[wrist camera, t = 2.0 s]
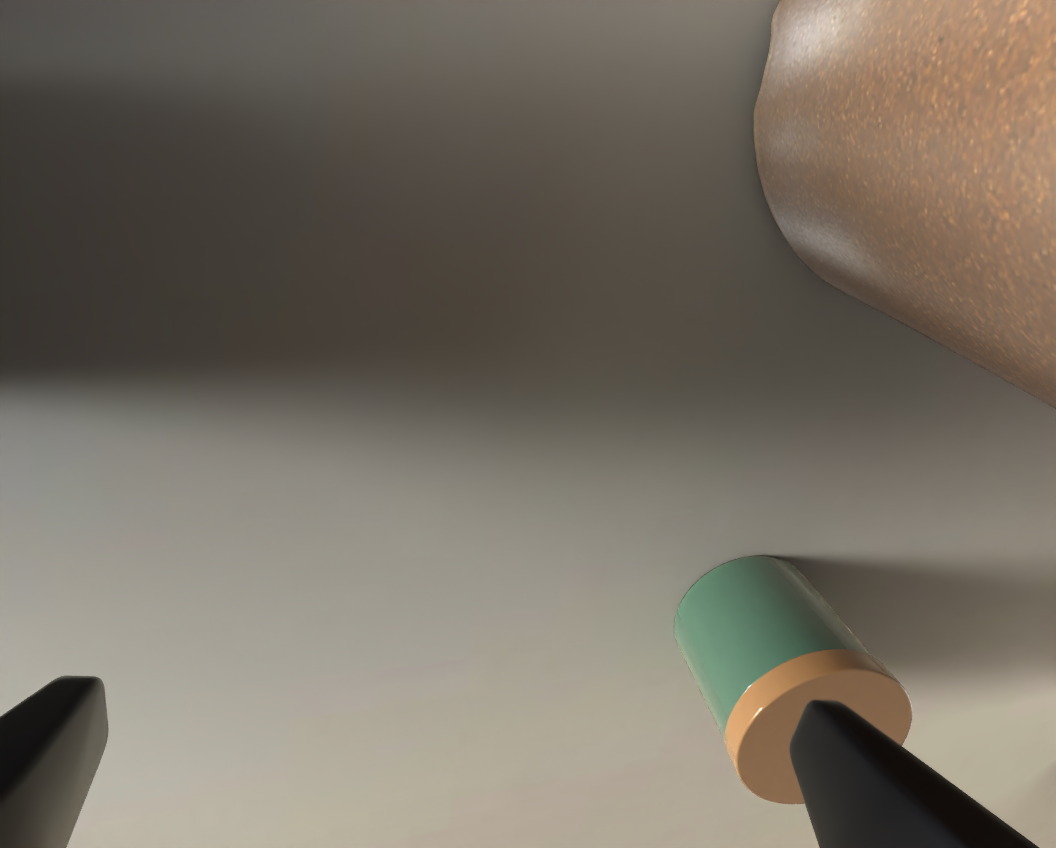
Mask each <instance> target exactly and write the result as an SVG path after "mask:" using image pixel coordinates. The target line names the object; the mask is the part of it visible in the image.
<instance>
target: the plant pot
mask: <svg viewBox="0 0 1056 848" xmlns="http://www.w3.org/2000/svg"><path fill="white" fill-rule="evenodd" d="M754 146H755V155H756V162H757V167H758V172H759V176H760V180H761V184H762V188H763V191H764V194H765V197H766V200H767V203H768V206H769V208H770V210H771V213H772V215H773V217H774V219H775V221H776V223H777V225H778V227H779V228H780V230H781V232H782V234H783V235H784V237H785V238H786V240H787V241H788V243H789V245H790V246H791V248H792V249H793V250H794V251H795V253H796V254H797V255H798V256H799V258H800V259H801V260H802V261H803V262H804V263H805V264H806V265H807V266H808V267H809V268H810V269H811V270H812V271H813V272H814V273H816V274H817V275H818V276H819V277H821V278H822V279H823V280H824V281H826V282H827V283H828V284H830V285H831V286H833V287H835V288H837V289H838V290H840V291H842V292H843V293H846V294H848V295H850V296H852V297H854V298H856V299H858V300H860V301H862V302H864V303H866V304H867V305H869V306H871V307H873V308H875V309H877V310H879V311H881V312H883V313H884V314H886V315H888V316H890V317H892V318H894V319H896V320H898V321H899V322H901V323H903V324H905V325H907V326H909V327H911V328H912V329H914V330H916V331H918V332H920V333H921V334H923V335H925V336H927V337H929V338H930V339H932V340H934V341H936V342H937V343H939V344H941V345H943V346H945V347H946V348H948V349H950V350H952V351H954V352H955V353H957V354H959V355H961V356H963V357H964V358H966V359H968V360H970V361H972V362H973V363H975V364H977V365H979V366H981V367H982V368H984V369H986V370H988V371H990V372H991V373H993V374H995V375H997V376H998V377H1000V378H1002V379H1004V380H1006V381H1007V382H1009V383H1011V384H1013V385H1015V386H1016V387H1018V388H1020V389H1022V390H1024V391H1025V392H1027V393H1029V394H1031V395H1032V396H1034V397H1036V398H1038V399H1040V400H1041V401H1043V402H1045V403H1047V404H1048V405H1050V406H1052V407H1054V408H1056V0H780V1H779V4H778V6H777V8H776V10H775V12H774V14H773V18H772V22H771V39H770V48H769V53H768V58H767V62H766V65H765V70H764V74H763V78H762V83H761V87H760V91H759V95H758V98H757V101H756V104H755V107H754Z"/></svg>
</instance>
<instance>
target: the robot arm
mask: <svg viewBox="0 0 1056 848" xmlns="http://www.w3.org/2000/svg"><path fill="white" fill-rule="evenodd" d="M107 738H108V719H107V709H106V699H105V689H104V684H103V682H102V680H101V679H100V678H98V677H95V676H62V677H59V678H57V679H55V680H53V681H51V682H50V683H49V684H47V685H46V686H44V687H43V688H41V689H40V690H38V691H37V692H35V693H34V694H33V695H31V696H30V697H28V698H27V699H25V700H24V701H22V702H21V703H19V704H18V705H17V706H15V707H14V708H12V709H11V710H9V711H8V712H6V713H5V714H3V715H2V716H1V717H0V848H66V847H67V844H68V842H69V839H70V837H71V834H72V832H73V829H74V826H75V824H76V821H77V819H78V816H79V814H80V811H81V809H82V806H83V803H84V801H85V798H86V796H87V793H88V791H89V788H90V786H91V783H92V780H93V778H94V775H95V773H96V770H97V768H98V765H99V763H100V760H101V758H102V755H103V752H104V749H105V746H106V743H107ZM789 753H790V759H791V763H792V766H793V769H794V772H795V775H796V778H797V781H798V784H799V787H800V790H801V793H802V796H803V799H804V802H805V805H806V808H807V811H808V814H809V817H810V820H811V823H812V826H813V829H814V832H815V835H816V838H817V841H818V844H819V847H820V848H1039V847H1038V846H1036V845H1035V844H1034V843H1032V842H1031V841H1029V840H1028V839H1027V838H1025V837H1024V836H1023V835H1021V834H1020V833H1019V832H1017V831H1016V830H1015V829H1013V828H1012V827H1010V826H1009V825H1008V824H1006V823H1005V822H1004V821H1002V820H1001V819H1000V818H998V817H997V816H996V815H994V814H993V813H991V812H990V811H989V810H987V809H986V808H985V807H983V806H982V805H981V804H979V803H978V802H977V801H975V800H974V799H973V798H971V797H970V796H968V795H967V794H966V793H964V792H963V791H962V790H960V789H959V788H958V787H956V786H955V785H954V784H952V783H951V782H949V781H948V780H947V779H945V778H944V777H943V776H941V775H940V774H939V773H937V772H936V771H935V770H933V769H932V768H930V767H929V766H928V765H926V764H925V763H924V762H922V761H921V760H920V759H918V758H917V757H916V756H914V755H913V754H911V753H910V752H909V751H907V750H906V749H905V748H903V747H902V746H901V745H899V744H898V743H897V742H895V741H894V740H892V739H891V738H890V737H888V736H887V735H886V734H884V733H883V732H882V731H880V730H879V729H878V728H876V727H875V726H873V725H872V724H871V723H869V722H868V721H867V720H865V719H864V718H863V717H861V716H860V715H859V714H857V713H856V712H854V711H853V710H852V709H850V708H849V707H848V706H846V705H845V704H843V703H842V702H839V701H836V700H811V701H810V702H809V703H808V704H807V705H806V706H805V708H804V711H803V713H802V715H801V717H800V720H799V722H798V724H797V726H796V728H795V731H794V733H793V735H792V737H791V740H790V745H789Z"/></svg>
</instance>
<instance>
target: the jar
mask: <svg viewBox="0 0 1056 848" xmlns="http://www.w3.org/2000/svg"><path fill="white" fill-rule="evenodd" d="M674 634H675V639H676V642H677V645H678V647H679V649H680V651H681V653H682V655H683V657H684V659H685V661H686V663H687V665H688V667H689V669H690V671H691V673H692V675H693V677H694V680H695V682H696V684H697V686H698V688H699V690H700V692H701V694H702V696H703V698H704V700H705V702H706V704H707V706H708V708H709V710H710V712H711V714H712V716H713V718H714V720H715V722H716V724H717V726H718V728H719V730H720V732H721V734H722V736H723V739H724V741H725V745H726V750H727V753H728V756H729V758H730V760H731V762H732V764H733V766H734V768H735V770H736V772H737V774H738V776H739V778H740V780H741V781H742V783H743V784H744V785H745V786H746V787H747V789H749V790H750V791H751V792H752V793H754V794H755V795H757V796H759V797H761V798H763V799H765V800H768V801H771V802H776V803H782V804H805V802H804V799H803V796H802V793H801V790H800V787H799V784H798V781H797V778H796V775H795V772H794V769H793V766H792V763H791V759H790V753H789V745H790V740H791V737H792V735H793V733H794V731H795V728H796V726H797V724H798V722H799V720H800V717H801V715H802V713H803V711H804V708H805V706H806V705H807V704H808V703H809V702H810V701H811V700H836V701H839V702H842V703H843V704H845V705H846V706H848V707H849V708H850V709H852V710H853V711H854V712H856V713H857V714H859V715H860V716H861V717H863V718H864V719H865V720H867V721H868V722H869V723H871V724H872V725H873V726H875V727H876V728H878V729H879V730H880V731H882V732H883V733H884V734H886V735H887V736H888V737H890V738H891V739H892V740H894V741H895V742H897V743H898V744H899V745H901V746H902V745H903V743H904V741H905V739H906V737H907V735H908V732H909V729H910V726H911V721H912V706H911V701H910V698H909V696H908V693H907V692H906V690H905V688H904V687H903V686H902V685H901V684H900V682H899V681H898V680H897V679H896V678H895V677H894V675H893V674H892V673H891V672H890V671H889V670H888V669H887V667H886V666H885V665H884V664H883V663H881V662H880V661H879V660H877V659H876V658H874V657H873V656H872V655H871V654H870V652H869V651H868V650H867V649H866V648H865V647H864V645H863V644H862V643H861V642H860V641H859V639H858V638H857V637H856V636H855V635H854V634H853V632H852V631H851V630H850V629H849V628H848V627H847V625H846V624H845V623H844V622H843V621H842V620H841V618H840V617H839V616H838V615H837V614H836V613H835V611H834V610H833V609H832V608H831V607H830V606H829V604H828V603H827V602H826V601H825V600H824V599H823V597H822V596H821V595H820V594H819V593H818V592H817V590H816V589H815V588H814V587H813V586H812V585H811V583H810V582H809V581H808V580H807V579H806V578H805V576H804V575H803V574H802V573H801V572H800V571H799V570H798V569H797V568H796V567H794V566H793V565H792V564H790V563H788V562H786V561H783V560H780V559H777V558H773V557H768V556H750V557H744V558H739V559H736V560H732V561H730V562H727V563H725V564H722V565H720V566H718V567H716V568H714V569H713V570H711V571H710V572H708V573H707V574H705V575H704V576H703V577H701V578H700V579H699V580H698V581H697V582H696V583H695V584H694V585H693V586H692V587H691V588H690V589H689V591H688V592H687V593H686V594H685V596H684V598H683V599H682V601H681V603H680V605H679V607H678V610H677V613H676V616H675V622H674Z"/></svg>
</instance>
